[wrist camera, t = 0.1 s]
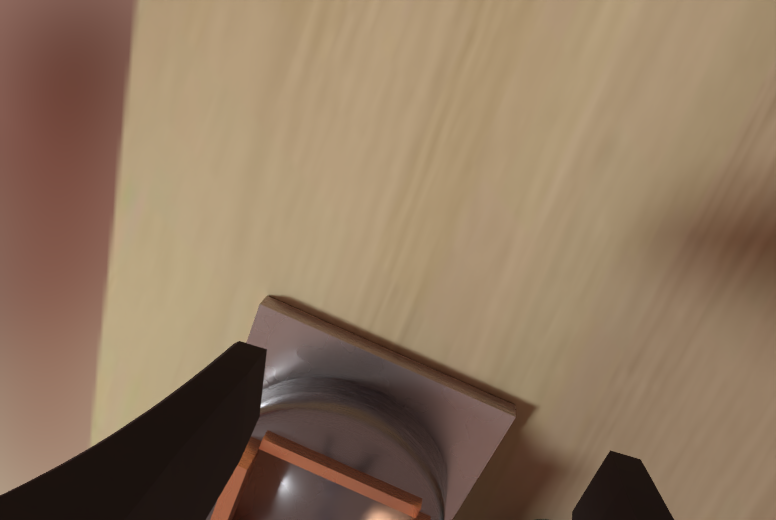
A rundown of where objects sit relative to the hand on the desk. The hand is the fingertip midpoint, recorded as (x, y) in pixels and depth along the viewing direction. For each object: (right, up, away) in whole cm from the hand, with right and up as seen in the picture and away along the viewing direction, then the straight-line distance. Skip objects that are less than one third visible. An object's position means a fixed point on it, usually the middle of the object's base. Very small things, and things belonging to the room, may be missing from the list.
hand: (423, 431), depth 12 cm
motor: (-3, -6, +14) cm, 16 cm away
